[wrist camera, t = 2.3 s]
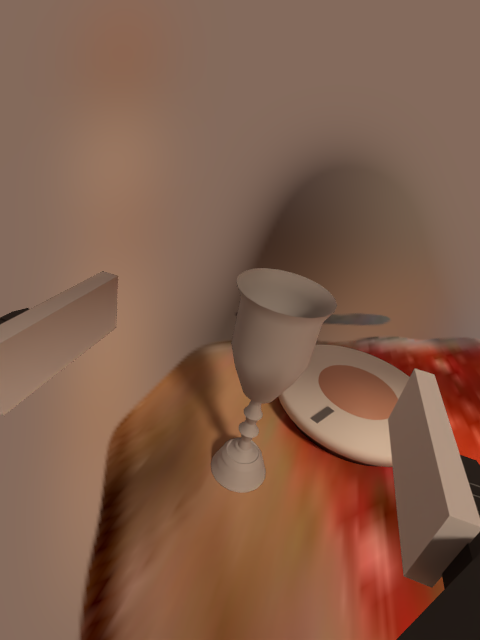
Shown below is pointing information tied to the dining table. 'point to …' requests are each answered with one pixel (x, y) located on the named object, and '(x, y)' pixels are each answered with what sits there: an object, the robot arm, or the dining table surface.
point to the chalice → (268, 358)
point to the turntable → (346, 402)
